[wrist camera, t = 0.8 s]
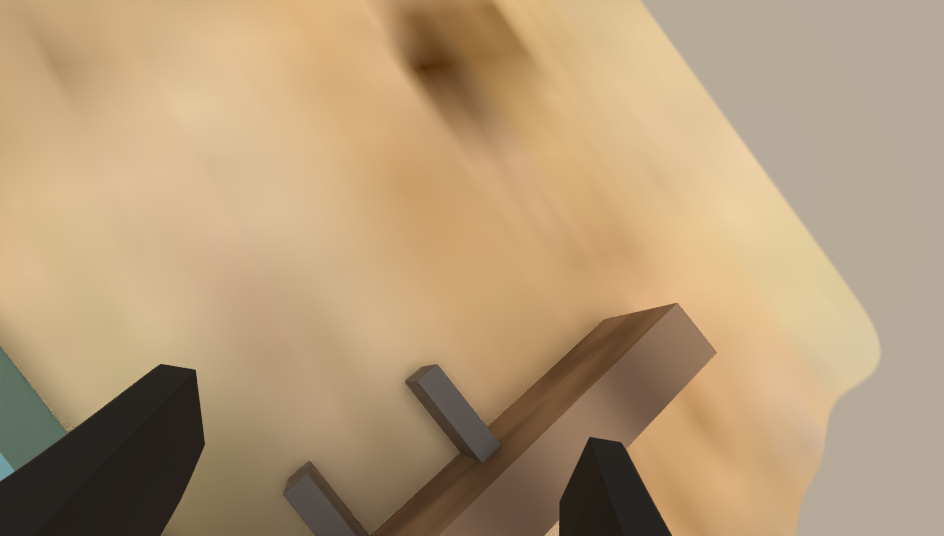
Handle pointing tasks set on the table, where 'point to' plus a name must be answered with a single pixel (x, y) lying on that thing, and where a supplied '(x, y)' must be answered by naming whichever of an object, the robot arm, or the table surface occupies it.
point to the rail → (22, 420)
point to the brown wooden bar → (529, 433)
